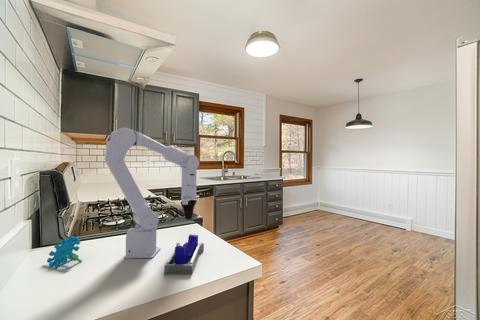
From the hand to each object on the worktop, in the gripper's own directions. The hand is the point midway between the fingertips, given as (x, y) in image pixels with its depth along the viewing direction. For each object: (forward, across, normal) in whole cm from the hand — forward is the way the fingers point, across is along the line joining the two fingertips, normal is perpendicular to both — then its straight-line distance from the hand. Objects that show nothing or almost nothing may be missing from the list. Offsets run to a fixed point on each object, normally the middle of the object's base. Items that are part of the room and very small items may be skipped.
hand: (188, 219), depth 89 cm
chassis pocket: (+9, -16, -2) cm, 19 cm away
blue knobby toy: (+10, -17, +36) cm, 41 cm away
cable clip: (+10, -13, -2) cm, 17 cm away
